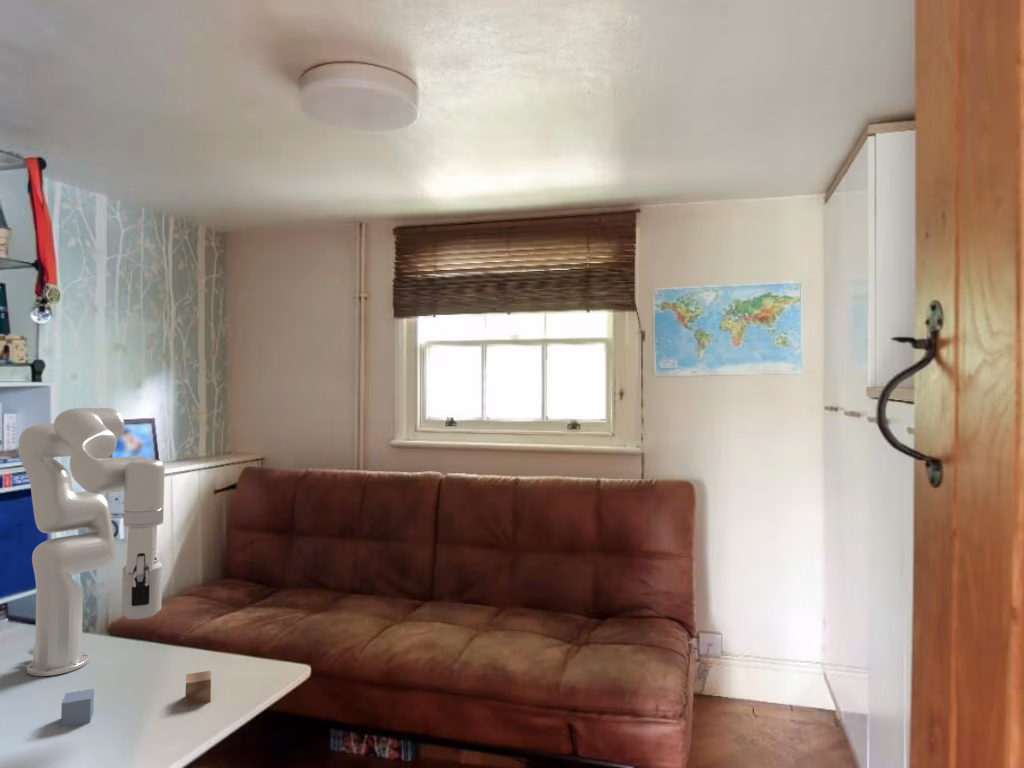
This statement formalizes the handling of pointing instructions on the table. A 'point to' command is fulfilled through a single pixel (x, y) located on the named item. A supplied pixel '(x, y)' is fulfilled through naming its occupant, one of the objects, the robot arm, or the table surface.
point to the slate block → (77, 707)
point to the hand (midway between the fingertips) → (141, 598)
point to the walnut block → (198, 688)
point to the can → (154, 593)
